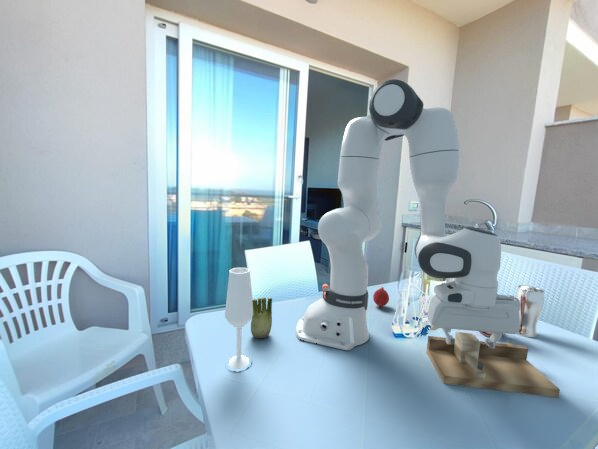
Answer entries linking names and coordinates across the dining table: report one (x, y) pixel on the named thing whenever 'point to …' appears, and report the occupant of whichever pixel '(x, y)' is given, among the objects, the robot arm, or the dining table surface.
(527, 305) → the beer glass
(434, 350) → the board
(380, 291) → the onion
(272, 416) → the dining table surface
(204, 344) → the dining table surface
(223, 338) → the dining table surface
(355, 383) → the dining table surface
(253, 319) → the fennel bulb
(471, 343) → the marking gauge
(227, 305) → the champagne flute
